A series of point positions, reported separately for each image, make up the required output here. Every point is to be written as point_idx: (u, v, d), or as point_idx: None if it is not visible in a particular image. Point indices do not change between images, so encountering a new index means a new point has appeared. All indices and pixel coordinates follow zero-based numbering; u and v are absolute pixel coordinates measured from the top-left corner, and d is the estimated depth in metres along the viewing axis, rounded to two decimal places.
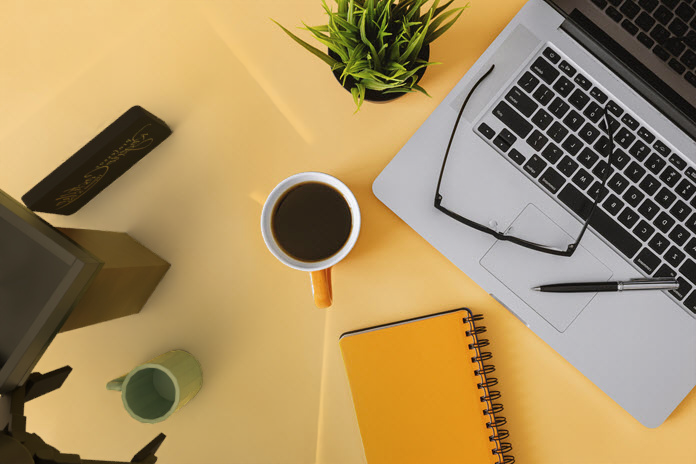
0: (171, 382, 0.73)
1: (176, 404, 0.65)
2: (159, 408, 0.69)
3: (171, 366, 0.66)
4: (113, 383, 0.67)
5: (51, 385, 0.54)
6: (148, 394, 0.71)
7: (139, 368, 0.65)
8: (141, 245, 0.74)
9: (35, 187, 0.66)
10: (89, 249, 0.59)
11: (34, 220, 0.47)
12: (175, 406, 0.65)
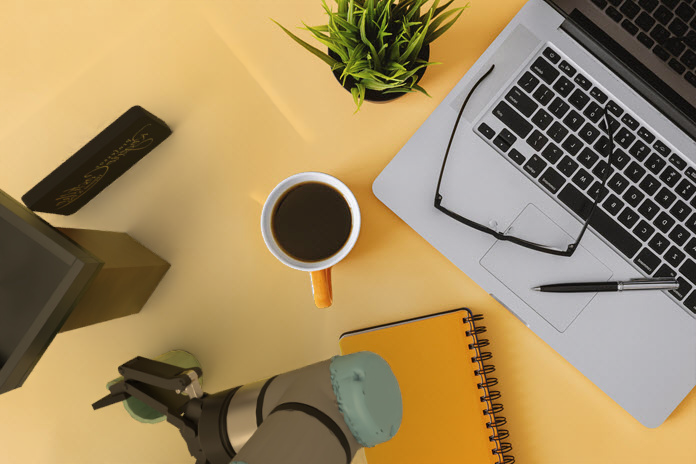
0: None
1: None
2: None
3: None
4: (113, 383, 0.67)
5: None
6: None
7: None
8: (141, 245, 0.74)
9: (35, 187, 0.66)
10: (89, 249, 0.59)
11: (34, 220, 0.47)
12: None
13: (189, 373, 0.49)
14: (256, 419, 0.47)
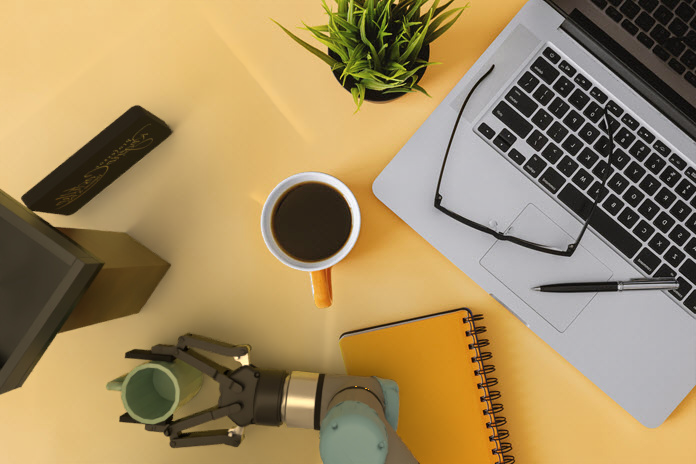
0: (171, 382, 0.73)
1: (176, 404, 0.65)
2: (159, 408, 0.69)
3: (171, 366, 0.66)
4: (113, 383, 0.67)
5: None
6: (148, 394, 0.71)
7: (139, 368, 0.65)
8: (141, 245, 0.74)
9: (35, 187, 0.66)
10: (89, 249, 0.59)
11: (34, 220, 0.47)
12: (175, 406, 0.65)
13: (247, 346, 0.67)
14: None
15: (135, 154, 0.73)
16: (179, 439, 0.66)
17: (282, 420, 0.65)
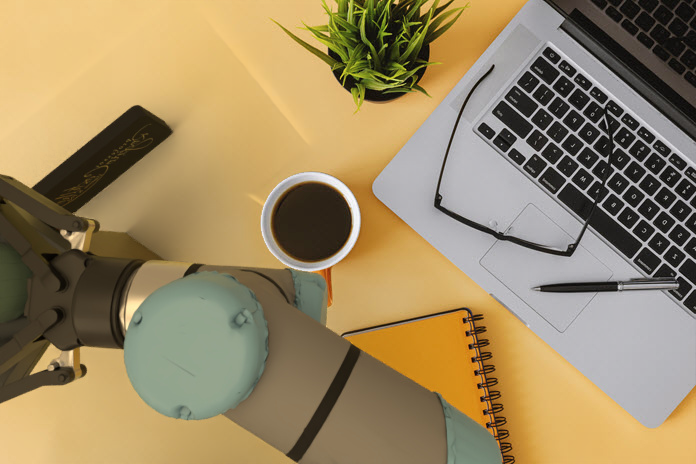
0: None
1: None
2: None
3: None
4: None
5: None
6: None
7: None
8: (141, 245, 0.74)
9: (35, 186, 0.66)
10: (89, 249, 0.59)
11: (34, 220, 0.47)
12: None
13: (89, 220, 0.41)
14: None
15: (135, 154, 0.73)
16: None
17: None
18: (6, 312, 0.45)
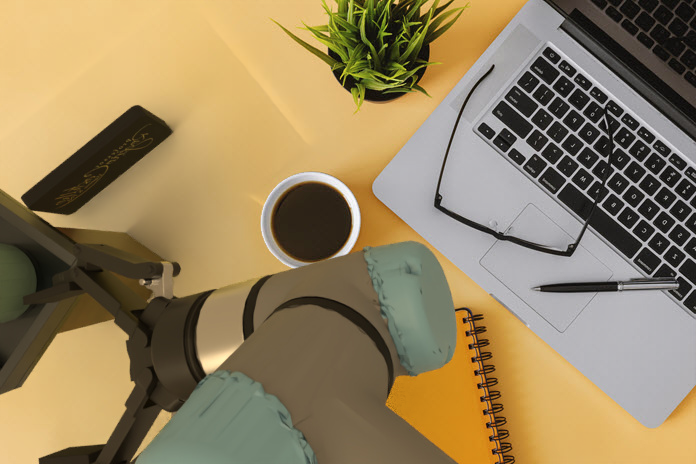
0: None
1: None
2: None
3: None
4: None
5: (54, 298, 0.42)
6: None
7: None
8: (141, 245, 0.74)
9: (35, 186, 0.66)
10: None
11: (34, 220, 0.47)
12: None
13: (164, 262, 0.37)
14: None
15: (135, 154, 0.73)
16: None
17: None
18: (6, 312, 0.45)
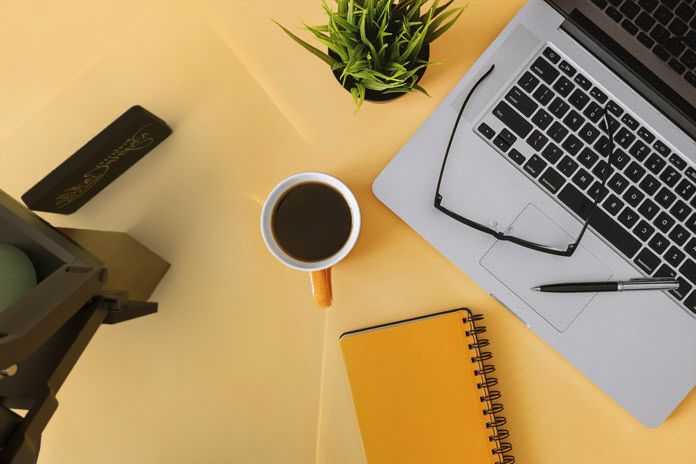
0: None
1: None
2: None
3: None
4: None
5: None
6: None
7: None
8: (141, 245, 0.74)
9: (35, 186, 0.66)
10: (89, 249, 0.59)
11: (34, 220, 0.47)
12: None
13: None
14: None
15: (135, 154, 0.73)
16: None
17: None
18: None
